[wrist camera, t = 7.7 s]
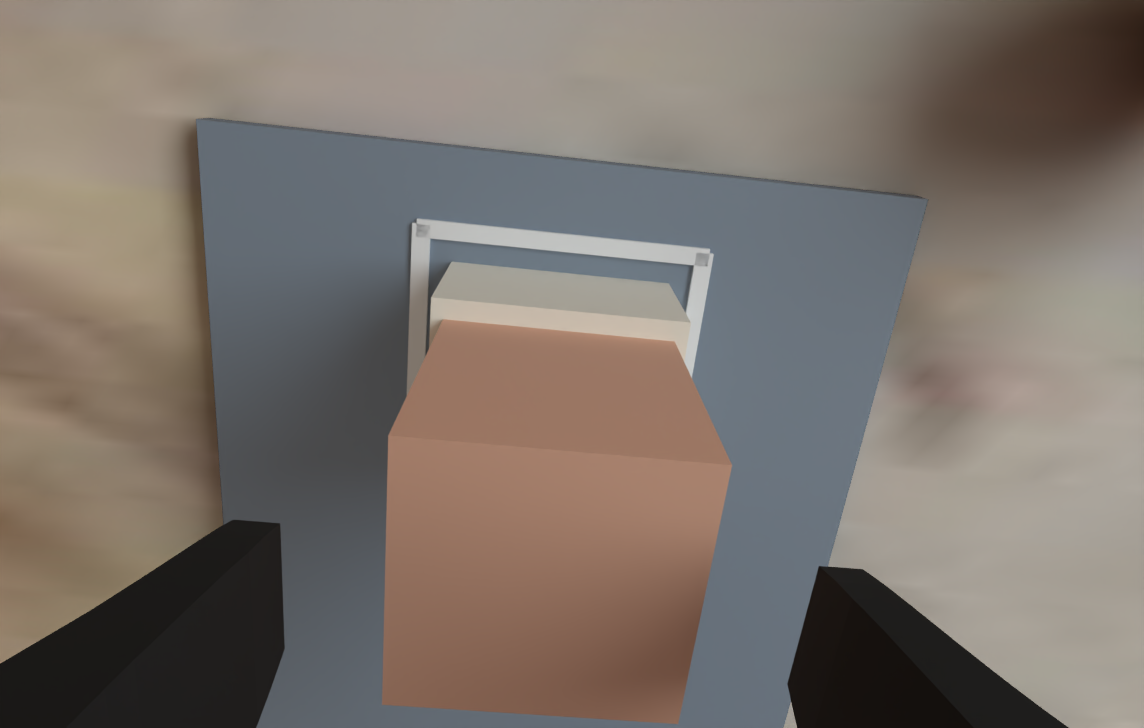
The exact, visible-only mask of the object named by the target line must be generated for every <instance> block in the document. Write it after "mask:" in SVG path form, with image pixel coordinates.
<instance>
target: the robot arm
mask: <svg viewBox="0 0 1144 728" xmlns="http://www.w3.org/2000/svg"><path fill="white" fill-rule="evenodd" d="M284 650H285V643H284V614H283V586H282V557H281V529H280V523H270V522H258V521H245V520H231V521H230V522H228V523H226V524H224V525H223V526H221V527H219V528H218V529H216V530H215V531H213V532H211V533H210V534H208V535H207V536H205V537H204V538H202V539H200V540H199V541H197V542H196V543H194V544H193V545H191V546H190V547H188V548H187V549H185V550H184V551H182V552H181V553H179V554H178V555H176V556H175V557H173V558H171V559H170V560H168V561H167V562H165V563H164V564H162V565H161V566H159V567H158V568H156V569H155V570H153V571H152V572H150V573H149V574H147V575H145V576H144V577H142V578H141V579H139V580H138V581H136V582H134V583H133V584H131V585H130V586H128V587H127V588H125V589H124V590H122V591H120V592H119V593H117V594H116V595H114V596H113V597H111V598H109V599H108V600H106V601H105V602H103V603H102V604H100V605H99V606H97V607H95V608H94V609H92V610H91V611H89V612H87V613H86V614H84V615H82V616H80V617H79V618H77V619H75V620H74V621H72V622H70V623H69V624H67V625H65V626H63V627H62V628H60V629H58V630H57V631H55V632H53V633H52V634H50V635H48V636H46V637H45V638H43V639H41V640H40V641H38V642H36V643H35V644H33V645H31V646H30V647H28V648H26V649H24V650H23V651H21V652H19V653H18V654H16V655H14V656H13V657H11V658H9V659H7V660H6V661H4V662H2V663H1V664H0V728H256V727H257V725H258V722H259V719H260V717H261V714H262V711H263V709H264V706H265V703H266V701H267V698H268V695H269V693H270V690H271V687H272V684H273V681H274V678H275V676H276V673H277V670H278V667H279V664H280V661H281V658H282V655H283V653H284ZM787 685H788V689H789V694H790V698H791V702H792V707H793V711H794V716H795V720H796V724H797V728H1068V727H1067V726H1066V725H1064V724H1063V723H1061V722H1060V721H1059V720H1057V719H1056V718H1054V717H1053V716H1052V715H1050V714H1049V713H1048V712H1046V711H1045V710H1043V709H1042V708H1041V707H1039V706H1038V705H1037V704H1035V703H1034V702H1033V701H1031V700H1030V699H1029V698H1027V697H1026V696H1025V695H1023V694H1022V693H1021V692H1019V691H1018V690H1017V689H1016V688H1014V687H1013V686H1012V685H1010V684H1009V683H1008V682H1006V681H1005V680H1004V679H1003V678H1001V677H1000V676H999V675H997V674H996V673H995V672H993V671H992V670H991V669H990V668H988V667H987V666H986V665H985V664H983V663H982V662H981V661H980V660H978V659H977V658H976V657H974V656H973V655H972V654H971V653H969V652H968V651H967V650H966V649H964V648H963V647H962V646H961V645H959V644H958V643H957V642H956V641H954V640H953V639H952V638H951V637H949V636H948V635H947V634H946V633H944V632H943V631H942V630H941V629H939V628H938V627H937V626H936V625H934V624H933V623H932V622H931V621H929V620H928V619H927V618H926V617H925V616H923V615H922V614H921V613H920V612H918V611H917V610H916V609H915V608H913V607H912V606H911V605H910V604H908V603H907V602H906V601H904V600H903V599H902V598H901V597H899V596H898V595H897V594H896V593H894V592H893V591H892V590H890V589H889V588H888V587H887V586H885V585H884V584H883V583H881V582H880V581H878V580H877V579H876V578H874V577H873V576H871V575H870V574H869V573H867V572H866V571H864V570H863V569H851V568H838V567H826V566H819V567H818V571H817V575H816V579H815V582H814V586H813V590H812V593H811V597H810V601H809V605H808V608H807V612H806V616H805V620H804V623H803V627H802V631H801V635H800V638H799V642H798V646H797V649H796V653H795V657H794V661H793V664H792V668H791V672H790V676H789V679H788V683H787Z"/></svg>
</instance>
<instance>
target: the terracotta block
mask: <svg viewBox="0 0 1144 728" xmlns="http://www.w3.org/2000/svg"><path fill="white" fill-rule="evenodd" d="M731 468H732V464H731V462H730V460H729V457H728V455H727V453H726V451H725V449H724V447H723V445H722V442H721V440H720V438H719V436H718V434H717V432H716V429H715V427H714V425H713V423H712V421H711V419H710V417H709V414H708V412H707V410H706V408H705V406H704V404H703V401H702V399H701V397H700V395H699V393H698V391H697V388H696V386H695V384H694V382H693V380H692V378H691V376H690V373H689V371H688V369H687V367H686V365H685V363H684V360H683V358H682V356H681V354H680V352H679V350H678V348H677V345H676V343H675V341H665V340H654V339H644V338H634V337H623V336H613V335H603V334H592V333H582V332H571V331H561V330H551V329H540V328H530V327H519V326H509V325H499V324H488V323H478V322H468V321H457V320H447V319H443V320H442V322H441V325H440V327H439V329H438V331H437V333H436V335H435V337H434V339H433V342H432V344H431V346H430V348H429V350H428V352H427V354H426V356H425V359H424V361H423V363H422V365H421V367H420V369H419V371H418V373H417V376H416V378H415V380H414V382H413V384H412V386H411V388H410V390H409V393H408V395H407V397H406V399H405V401H404V403H403V405H402V407H401V410H400V412H399V414H398V416H397V418H396V420H395V422H394V424H393V427H392V429H391V431H390V433H389V435H388V469H387V512H386V555H385V598H384V641H383V684H382V705H393V706H408V707H424V708H439V709H454V710H470V711H485V712H500V713H515V714H531V715H546V716H561V717H577V718H592V719H607V720H622V721H638V722H653V723H668V724H678V722H679V718H680V713H681V708H682V703H683V699H684V694H685V689H686V684H687V679H688V675H689V670H690V665H691V660H692V655H693V651H694V646H695V641H696V636H697V631H698V627H699V622H700V617H701V612H702V607H703V603H704V598H705V593H706V588H707V583H708V579H709V574H710V569H711V564H712V559H713V555H714V550H715V545H716V540H717V535H718V531H719V526H720V521H721V516H722V511H723V507H724V502H725V497H726V492H727V487H728V483H729V478H730V473H731Z"/></svg>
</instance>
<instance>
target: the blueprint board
mask: <svg viewBox="0 0 1144 728" xmlns="http://www.w3.org/2000/svg"><path fill="white" fill-rule="evenodd" d="M196 125H197V140H198V155H199V170H200V184H201V199H202V214H203V229H204V244H205V258H206V273H207V288H208V303H209V318H210V332H211V347H212V362H213V377H214V392H215V406H216V421H217V436H218V451H219V466H220V480H221V495H222V510H223V525H224V524H226V523H228V522H230V521H231V520H245V521H258V522H270V523H280V529H281V557H282V586H283V614H284V643H285V650H284V653H283V655H282V658H281V661H280V664H279V667H278V670H277V673H276V676H275V678H274V681H273V684H272V687H271V690H270V693H269V695H268V698H267V701H266V703H265V706H264V709H263V711H262V714H261V717H260V719H259V722H258V725H257V727H256V728H783V727H784V724H785V720H786V716H787V713H788V709H789V706H790V702H791V698H790V694H789V689H788V685H787V683H788V679H789V676H790V672H791V668H792V664H793V661H794V657H795V653H796V649H797V646H798V642H799V638H800V635H801V631H802V627H803V623H804V620H805V616H806V612H807V608H808V605H809V601H810V597H811V593H812V590H813V586H814V582H815V579H816V575H817V571H818V567H819V566H826V567H828V563H829V560H830V556H831V552H832V549H833V545H834V542H835V538H836V534H837V531H838V527H839V523H840V520H841V516H842V512H843V509H844V505H845V501H846V498H847V494H848V490H849V487H850V483H851V480H852V476H853V472H854V469H855V465H856V461H857V458H858V454H859V450H860V447H861V443H862V439H863V436H864V432H865V429H866V425H867V421H868V418H869V414H870V410H871V407H872V403H873V399H874V396H875V392H876V388H877V385H878V381H879V378H880V374H881V370H882V367H883V363H884V359H885V356H886V352H887V348H888V345H889V341H890V337H891V334H892V330H893V326H894V323H895V319H896V316H897V312H898V308H899V305H900V301H901V297H902V294H903V290H904V286H905V283H906V279H907V275H908V272H909V268H910V265H911V261H912V257H913V254H914V250H915V246H916V243H917V239H918V235H919V232H920V228H921V224H922V221H923V217H924V213H925V210H926V206H927V203H928V199H925V198H922V197H919V196H915V195H906V194H896V193H887V192H878V191H869V190H860V189H851V188H842V187H833V186H824V185H814V184H805V183H796V182H787V181H778V180H769V179H760V178H751V177H742V176H732V175H723V174H714V173H705V172H696V171H687V170H678V169H669V168H660V167H651V166H641V165H632V164H623V163H614V162H605V161H596V160H587V159H578V158H569V157H559V156H550V155H541V154H532V153H523V152H514V151H505V150H496V149H487V148H478V147H468V146H459V145H450V144H441V143H432V142H423V141H414V140H405V139H396V138H386V137H377V136H368V135H359V134H350V133H341V132H332V131H323V130H314V129H304V128H295V127H286V126H277V125H268V124H259V123H250V122H241V121H232V120H223V119H213V118H203V119H196ZM443 319H447V320H457V321H468V322H478V323H488V324H499V325H509V326H519V327H530V328H540V329H551V330H561V331H571V332H582V333H592V334H603V335H613V336H623V337H634V338H644V339H654V340H665V341H675V343H676V345H677V348H678V350H679V352H680V354H681V356H682V358H683V360H684V363H685V365H686V367H687V369H688V371H689V373H690V376H691V378H692V380H693V382H694V384H695V386H696V388H697V391H698V393H699V395H700V397H701V399H702V401H703V404H704V406H705V408H706V410H707V412H708V414H709V417H710V419H711V421H712V423H713V425H714V427H715V429H716V432H717V434H718V436H719V438H720V440H721V442H722V445H723V447H724V449H725V451H726V453H727V455H728V457H729V460H730V462H731V464H732V468H731V473H730V478H729V483H728V487H727V492H726V497H725V502H724V507H723V511H722V516H721V521H720V526H719V531H718V535H717V540H716V545H715V550H714V555H713V559H712V564H711V569H710V574H709V579H708V583H707V588H706V593H705V598H704V603H703V607H702V612H701V617H700V622H699V627H698V631H697V636H696V641H695V646H694V651H693V655H692V660H691V665H690V670H689V675H688V679H687V684H686V689H685V694H684V699H683V703H682V708H681V713H680V718H679V722H678V724H668V723H653V722H638V721H622V720H607V719H592V718H577V717H561V716H546V715H531V714H515V713H500V712H485V711H470V710H454V709H439V708H424V707H408V706H393V705H382V684H383V641H384V598H385V555H386V512H387V469H388V435H389V433H390V431H391V429H392V427H393V424H394V422H395V420H396V418H397V416H398V414H399V412H400V410H401V407H402V405H403V403H404V401H405V399H406V397H407V395H408V393H409V390H410V388H411V386H412V384H413V382H414V380H415V378H416V376H417V373H418V371H419V369H420V367H421V365H422V363H423V361H424V359H425V356H426V354H427V352H428V350H429V348H430V346H431V344H432V342H433V339H434V337H435V335H436V333H437V331H438V329H439V327H440V325H441V322H442V320H443Z"/></svg>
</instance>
